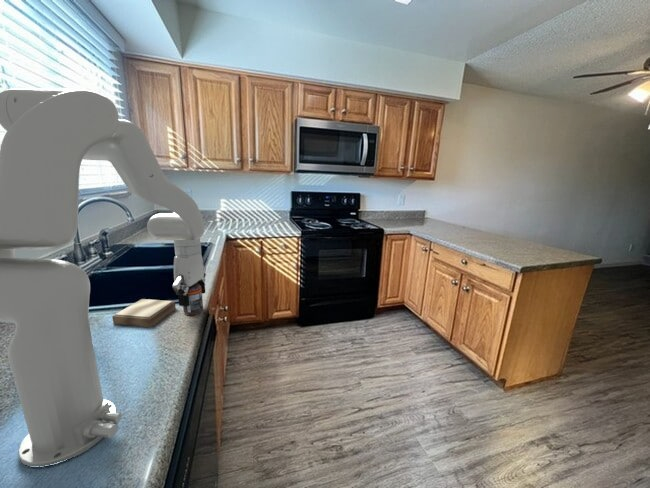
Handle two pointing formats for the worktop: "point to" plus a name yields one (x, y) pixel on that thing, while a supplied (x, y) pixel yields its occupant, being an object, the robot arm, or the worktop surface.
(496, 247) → the worktop surface
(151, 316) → the light wooden flat block
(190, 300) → the supplement bottle
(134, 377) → the worktop surface
